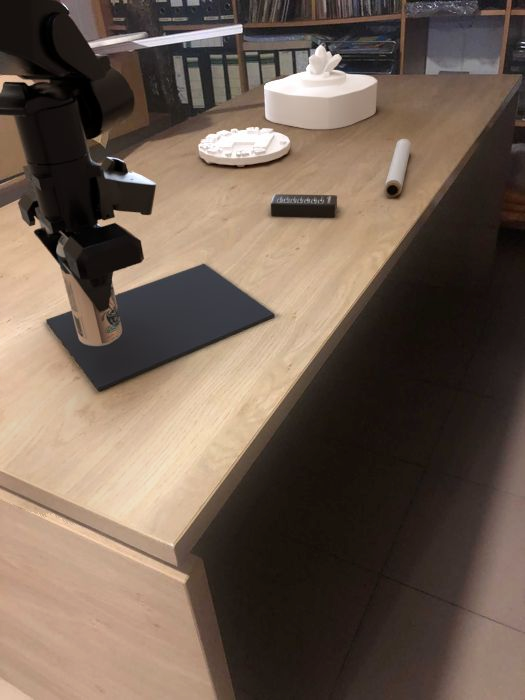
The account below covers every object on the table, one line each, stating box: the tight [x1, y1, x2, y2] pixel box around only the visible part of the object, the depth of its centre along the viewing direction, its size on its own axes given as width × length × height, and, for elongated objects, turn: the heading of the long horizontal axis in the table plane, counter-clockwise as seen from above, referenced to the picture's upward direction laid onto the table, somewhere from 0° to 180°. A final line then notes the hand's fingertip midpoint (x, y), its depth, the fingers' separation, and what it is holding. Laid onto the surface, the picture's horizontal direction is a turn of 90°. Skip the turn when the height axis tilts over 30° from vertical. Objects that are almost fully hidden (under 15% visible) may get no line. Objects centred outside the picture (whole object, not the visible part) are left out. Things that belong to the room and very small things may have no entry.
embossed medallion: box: [198, 126, 291, 168], centre depth 130 cm, size 20×20×3 cm
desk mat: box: [45, 263, 275, 392], centre depth 77 cm, size 24×18×1 cm
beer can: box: [56, 236, 122, 346], centre depth 63 cm, size 5×5×12 cm
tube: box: [384, 138, 412, 198], centre depth 114 cm, size 3×3×25 cm
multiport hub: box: [270, 193, 338, 219], centre depth 102 cm, size 4×11×2 cm, turn 79°
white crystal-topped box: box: [263, 44, 378, 131], centre depth 149 cm, size 25×25×16 cm
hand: (94, 300), depth 64 cm, fingers closed on beer can, 5 cm apart
